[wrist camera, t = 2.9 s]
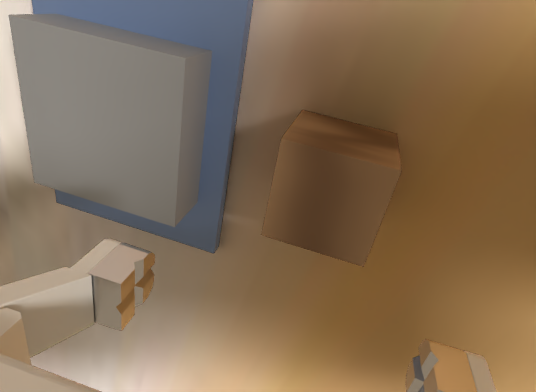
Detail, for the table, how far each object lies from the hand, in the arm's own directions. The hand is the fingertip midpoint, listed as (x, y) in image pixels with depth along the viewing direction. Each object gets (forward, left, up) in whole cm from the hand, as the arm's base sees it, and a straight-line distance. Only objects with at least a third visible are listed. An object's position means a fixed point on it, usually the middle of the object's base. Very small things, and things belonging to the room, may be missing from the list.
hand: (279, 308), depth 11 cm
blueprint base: (+11, 0, -11) cm, 16 cm away
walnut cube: (-1, 0, -11) cm, 11 cm away
